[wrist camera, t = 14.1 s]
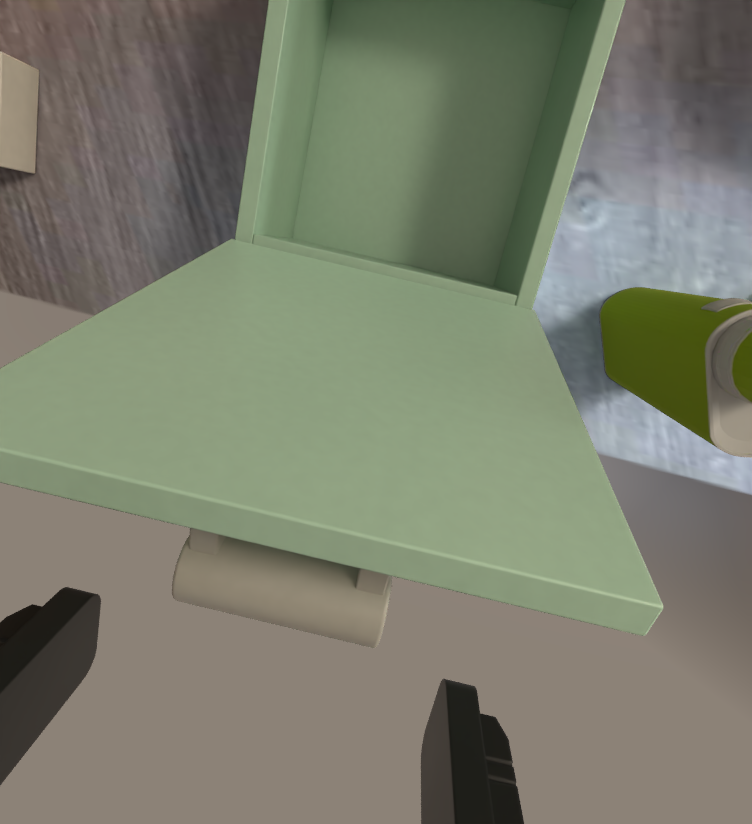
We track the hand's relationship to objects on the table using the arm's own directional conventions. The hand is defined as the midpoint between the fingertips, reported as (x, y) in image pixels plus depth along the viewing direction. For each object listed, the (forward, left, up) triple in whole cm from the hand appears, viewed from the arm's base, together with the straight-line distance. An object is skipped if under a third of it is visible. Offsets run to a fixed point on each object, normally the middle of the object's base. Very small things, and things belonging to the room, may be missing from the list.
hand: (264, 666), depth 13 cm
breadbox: (-16, 0, -24) cm, 28 cm away
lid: (-7, 0, -6) cm, 9 cm away
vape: (-8, +15, -24) cm, 29 cm away
